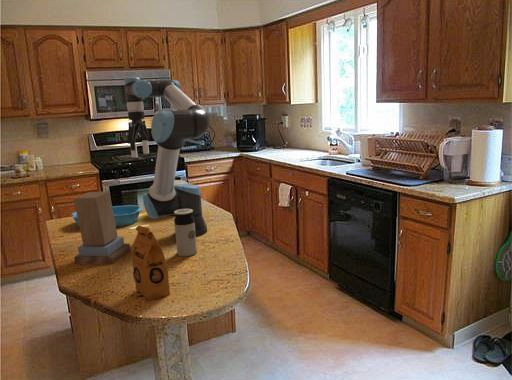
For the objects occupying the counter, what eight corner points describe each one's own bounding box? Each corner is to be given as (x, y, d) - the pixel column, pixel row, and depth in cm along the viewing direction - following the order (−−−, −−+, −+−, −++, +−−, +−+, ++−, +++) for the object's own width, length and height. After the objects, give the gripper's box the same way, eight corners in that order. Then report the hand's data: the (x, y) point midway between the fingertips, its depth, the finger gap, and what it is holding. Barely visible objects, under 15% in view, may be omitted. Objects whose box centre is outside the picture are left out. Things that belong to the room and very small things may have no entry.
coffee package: (144, 304, 130) (136, 236, 126) (132, 290, 141) (124, 227, 136) (174, 295, 135) (168, 229, 131) (161, 282, 146) (154, 221, 141)
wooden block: (97, 237, 179) (88, 191, 174) (118, 236, 176) (109, 190, 172) (83, 246, 169) (72, 198, 165) (104, 245, 167) (95, 197, 162)
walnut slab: (130, 251, 181) (129, 243, 181) (113, 265, 166) (112, 257, 165) (95, 251, 184) (94, 243, 183) (75, 265, 168) (74, 257, 167)
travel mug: (173, 253, 173) (169, 211, 170) (190, 248, 178) (186, 207, 175) (183, 258, 167) (179, 214, 164) (200, 253, 172) (197, 210, 169)
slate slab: (124, 244, 179) (123, 237, 178) (108, 255, 167) (107, 247, 166) (96, 244, 182) (95, 236, 181) (78, 255, 169) (77, 247, 168)
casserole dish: (147, 215, 239) (146, 202, 237) (141, 226, 217) (139, 212, 215) (80, 220, 235) (78, 207, 234) (67, 232, 213) (65, 218, 212)
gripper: (139, 110, 213) (143, 152, 218) (116, 112, 189) (121, 159, 194) (153, 110, 212) (157, 151, 217) (131, 111, 188) (137, 158, 192)
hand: (140, 155), depth 205 cm, fingers open, 13 cm apart
